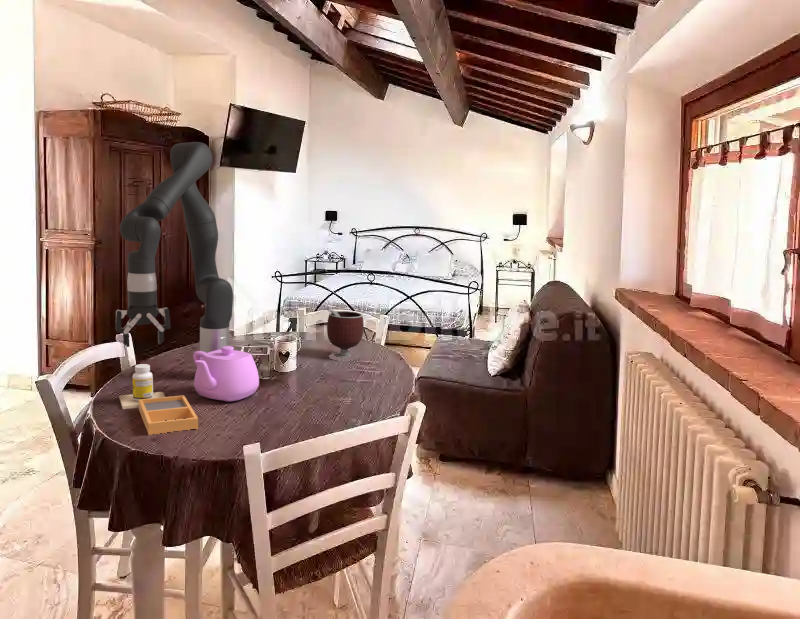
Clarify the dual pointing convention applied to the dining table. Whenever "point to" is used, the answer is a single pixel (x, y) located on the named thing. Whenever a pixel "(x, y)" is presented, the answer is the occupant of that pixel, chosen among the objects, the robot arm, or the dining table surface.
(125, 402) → the mat
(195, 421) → the divided wooden tray
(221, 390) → the teapot
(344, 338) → the mate gourd
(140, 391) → the supplement bottle
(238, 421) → the dining table surface
